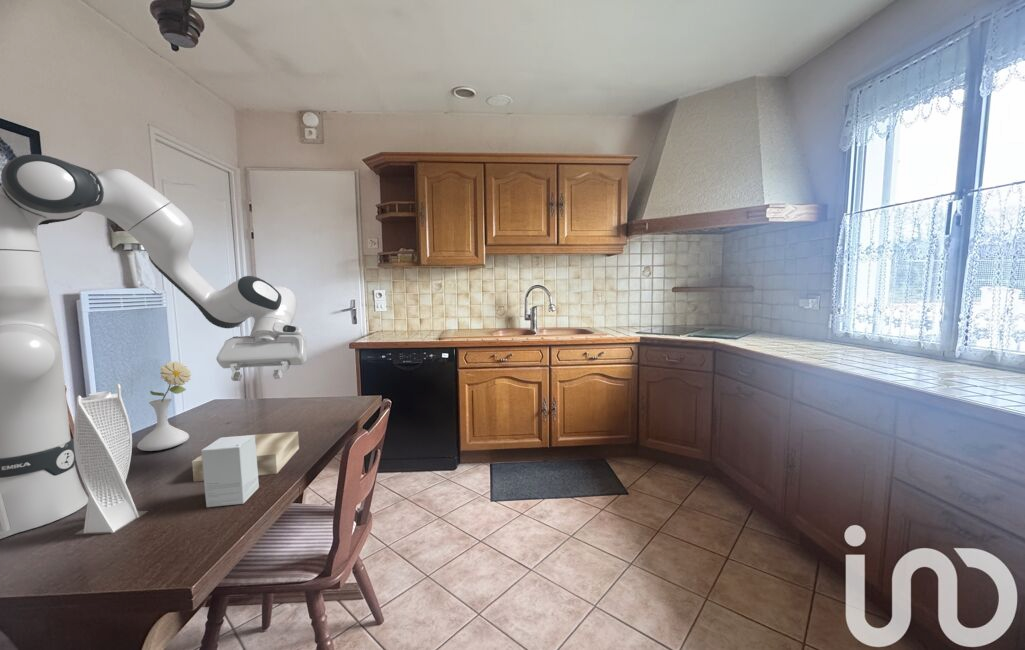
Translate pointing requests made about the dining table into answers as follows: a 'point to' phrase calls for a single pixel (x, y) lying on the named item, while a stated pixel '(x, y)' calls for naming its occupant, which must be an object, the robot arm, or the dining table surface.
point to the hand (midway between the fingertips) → (256, 378)
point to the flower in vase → (164, 432)
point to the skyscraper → (104, 461)
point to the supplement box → (230, 470)
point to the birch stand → (264, 453)
